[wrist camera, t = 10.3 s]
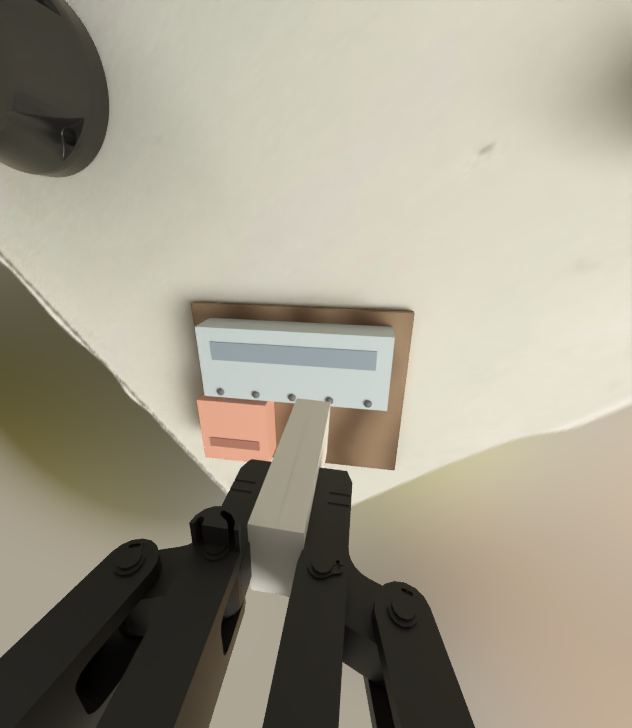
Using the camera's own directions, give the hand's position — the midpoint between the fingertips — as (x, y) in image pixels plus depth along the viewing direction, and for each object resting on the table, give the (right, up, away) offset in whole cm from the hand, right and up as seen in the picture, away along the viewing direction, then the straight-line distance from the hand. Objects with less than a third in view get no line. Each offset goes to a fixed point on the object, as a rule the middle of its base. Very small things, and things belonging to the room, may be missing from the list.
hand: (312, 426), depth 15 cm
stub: (-9, -4, +27) cm, 28 cm away
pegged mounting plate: (-2, +4, +23) cm, 23 cm away
